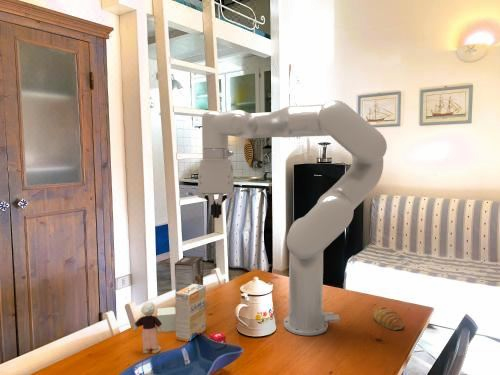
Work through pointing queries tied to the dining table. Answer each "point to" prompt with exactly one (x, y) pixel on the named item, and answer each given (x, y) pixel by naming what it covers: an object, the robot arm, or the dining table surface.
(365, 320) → the dining table surface
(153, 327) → the grandmother figurine
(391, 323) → the pastry
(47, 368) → the dining table surface
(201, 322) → the supplement box
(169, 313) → the sage block
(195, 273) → the coffee box
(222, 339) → the dice
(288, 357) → the dining table surface
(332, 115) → the robot arm
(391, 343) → the dining table surface
